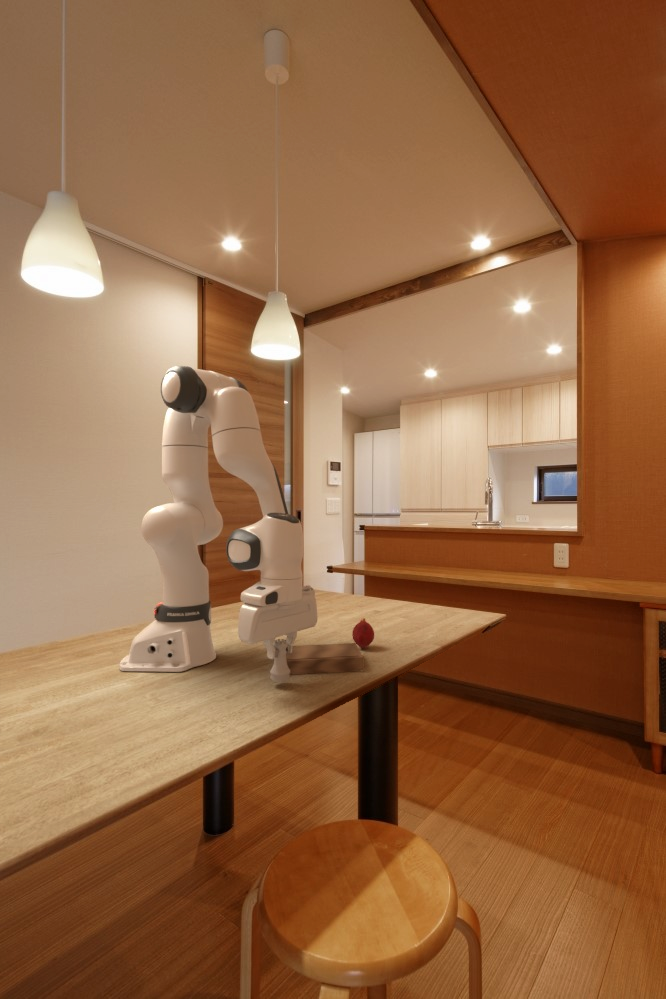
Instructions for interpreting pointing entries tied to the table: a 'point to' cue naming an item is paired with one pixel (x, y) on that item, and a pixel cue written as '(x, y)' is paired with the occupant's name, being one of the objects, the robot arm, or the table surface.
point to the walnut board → (325, 658)
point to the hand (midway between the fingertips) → (279, 655)
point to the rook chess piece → (280, 663)
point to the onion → (363, 634)
